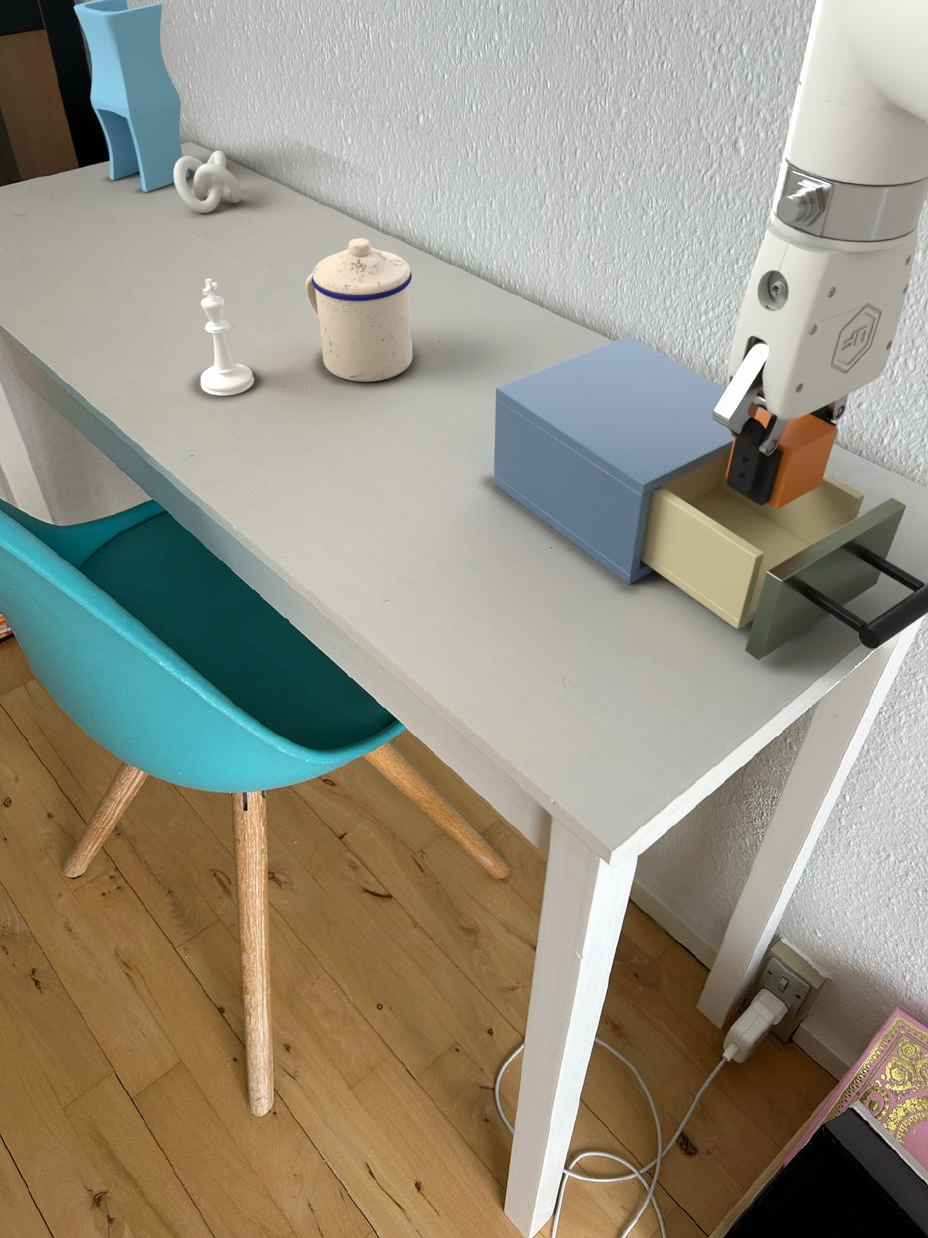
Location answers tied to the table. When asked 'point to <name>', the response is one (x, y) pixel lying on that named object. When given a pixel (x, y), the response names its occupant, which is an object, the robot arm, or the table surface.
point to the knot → (206, 182)
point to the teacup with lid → (363, 312)
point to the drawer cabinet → (604, 444)
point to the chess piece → (221, 351)
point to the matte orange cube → (799, 456)
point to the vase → (133, 90)
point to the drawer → (777, 556)
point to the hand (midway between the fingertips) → (773, 477)
